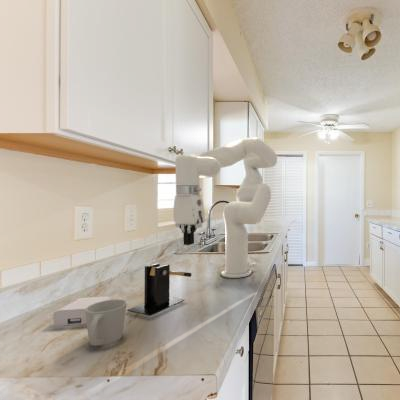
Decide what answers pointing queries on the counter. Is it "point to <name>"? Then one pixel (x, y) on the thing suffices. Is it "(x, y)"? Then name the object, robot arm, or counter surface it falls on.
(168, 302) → the bracket
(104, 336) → the cup
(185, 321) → the counter surface
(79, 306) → the charger
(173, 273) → the tap lever
